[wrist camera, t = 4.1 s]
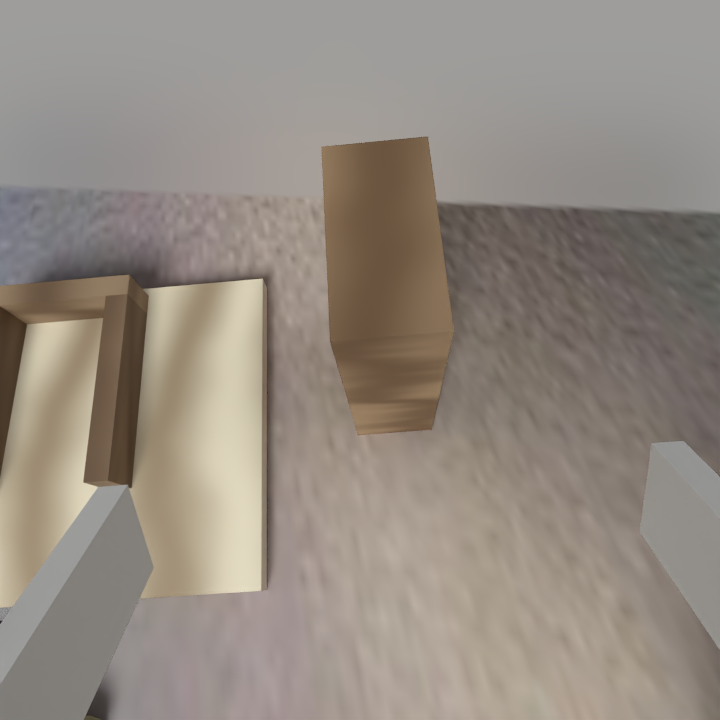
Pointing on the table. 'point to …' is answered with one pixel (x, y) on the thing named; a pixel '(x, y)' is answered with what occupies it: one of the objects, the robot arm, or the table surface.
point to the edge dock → (137, 425)
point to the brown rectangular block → (386, 282)
